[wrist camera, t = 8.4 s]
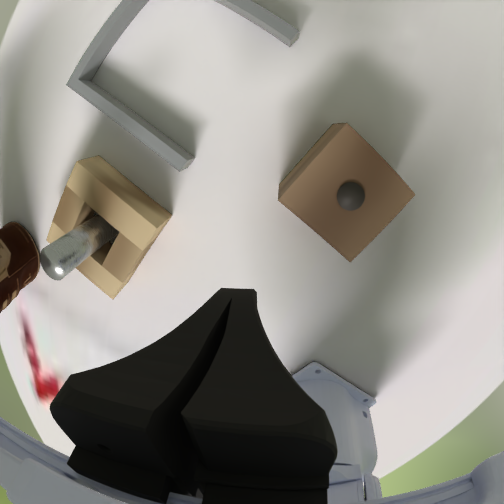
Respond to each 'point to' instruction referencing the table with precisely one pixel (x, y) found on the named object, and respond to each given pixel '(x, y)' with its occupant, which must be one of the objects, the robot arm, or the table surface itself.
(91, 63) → the grey arch piece
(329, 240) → the walnut block
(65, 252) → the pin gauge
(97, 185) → the oak block
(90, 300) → the table surface
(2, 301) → the coffee cup
